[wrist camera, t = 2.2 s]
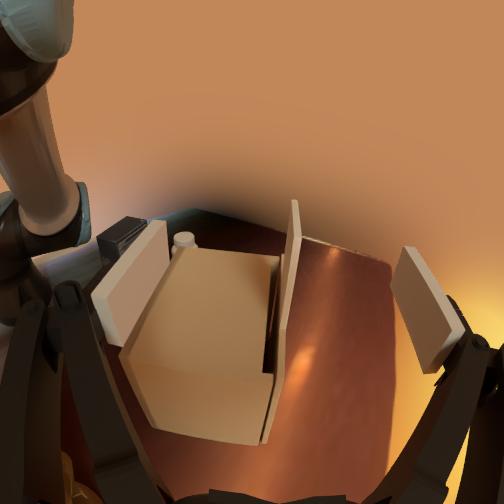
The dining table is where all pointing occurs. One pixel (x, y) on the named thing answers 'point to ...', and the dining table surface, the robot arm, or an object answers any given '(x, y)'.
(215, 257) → the carton
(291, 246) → the front flap
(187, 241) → the supplement bottle
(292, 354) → the dining table surface
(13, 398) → the robot arm
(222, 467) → the dining table surface
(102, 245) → the small box
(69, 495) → the lantern
